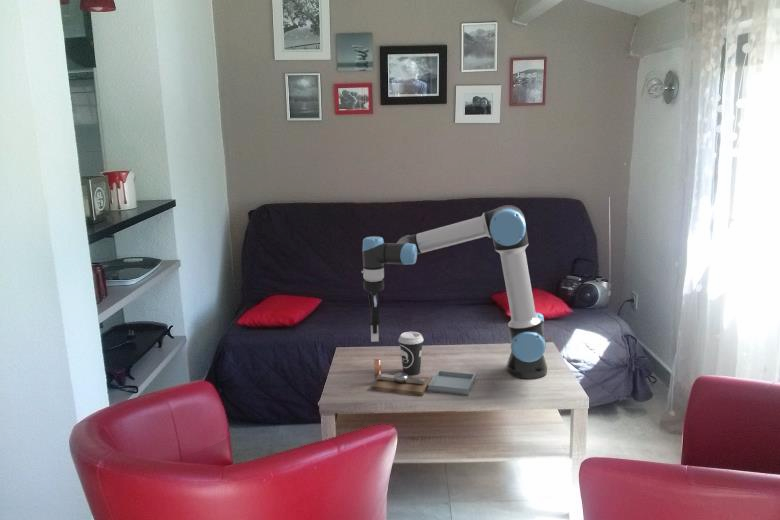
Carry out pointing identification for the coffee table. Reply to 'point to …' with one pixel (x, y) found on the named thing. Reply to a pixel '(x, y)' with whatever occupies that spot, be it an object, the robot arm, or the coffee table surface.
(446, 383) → the tray
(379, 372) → the crank
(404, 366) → the coffee cup
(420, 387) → the crank base
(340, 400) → the coffee table surface
